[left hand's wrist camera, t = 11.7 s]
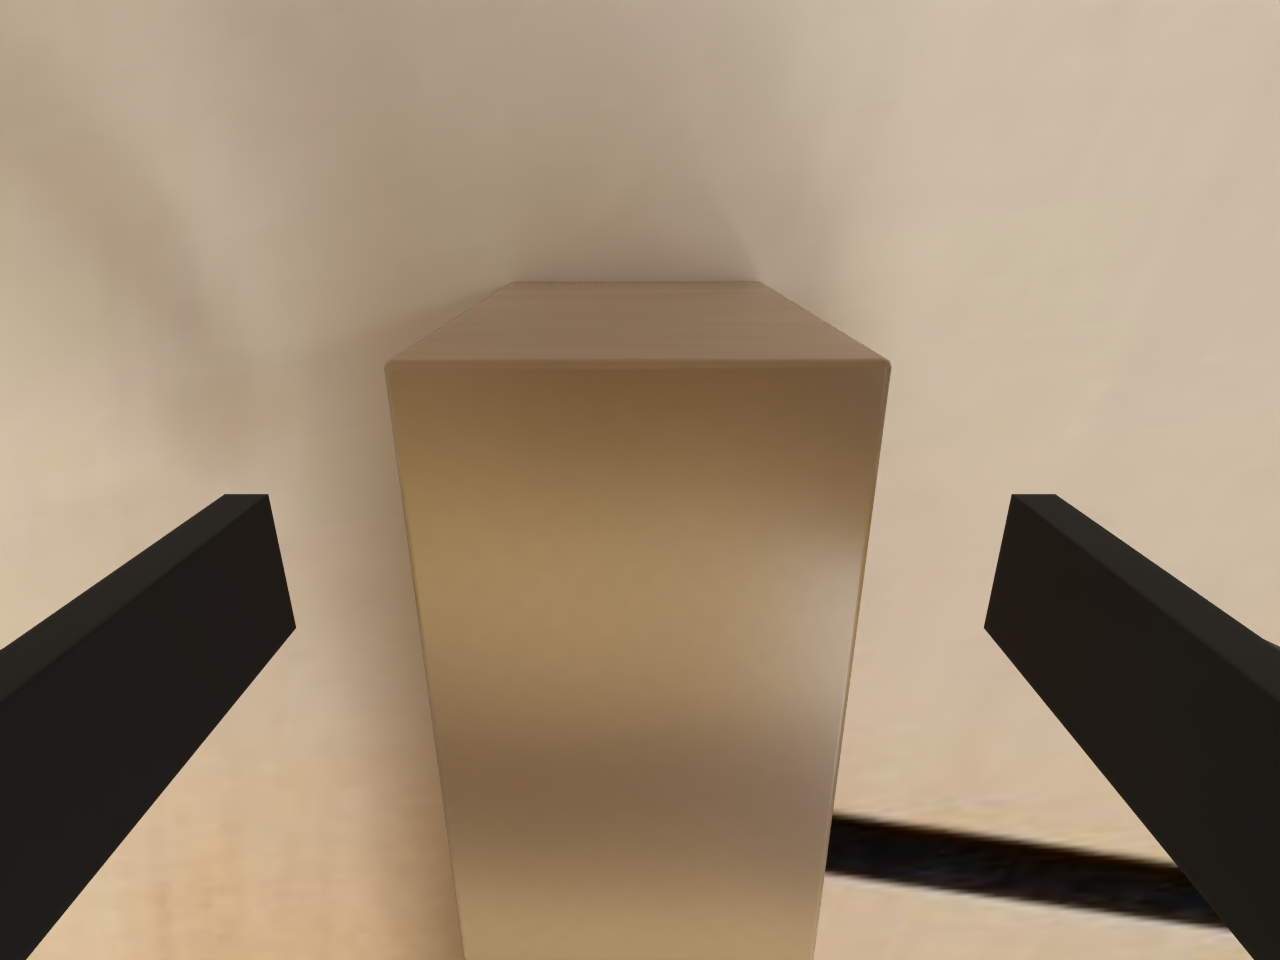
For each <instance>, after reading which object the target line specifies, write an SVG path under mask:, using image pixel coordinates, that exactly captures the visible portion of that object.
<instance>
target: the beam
mask: <svg viewBox="0 0 1280 960" xmlns="http://www.w3.org/2000/svg"><path fill="white" fill-rule="evenodd" d="M384 369H385V376H386V384H387V391H388V398H389V406H390V413H391V420H392V428H393V435H394V443H395V450H396V457H397V465H398V472H399V479H400V487H401V494H402V502H403V509H404V516H405V524H406V531H407V539H408V546H409V553H410V561H411V568H412V575H413V583H414V590H415V598H416V605H417V612H418V620H419V627H420V635H421V642H422V649H423V657H424V664H425V671H426V679H427V686H428V694H429V701H430V708H431V716H432V723H433V730H434V738H435V745H436V753H437V760H438V767H439V775H440V782H441V790H442V797H443V804H444V812H445V819H446V826H447V834H448V841H449V849H450V856H451V863H452V871H453V878H454V885H455V893H456V900H457V908H458V915H459V922H460V930H461V937H462V945H463V952H464V959H465V960H813V957H814V950H815V942H816V935H817V927H818V919H819V912H820V904H821V897H822V889H823V881H824V874H825V866H826V859H827V851H828V844H829V836H830V828H831V821H832V813H833V806H834V798H835V790H836V783H837V775H838V768H839V760H840V752H841V745H842V737H843V730H844V722H845V715H846V707H847V699H848V692H849V684H850V677H851V669H852V661H853V654H854V646H855V639H856V631H857V624H858V616H859V608H860V601H861V593H862V586H863V578H864V570H865V563H866V555H867V548H868V540H869V533H870V525H871V517H872V510H873V502H874V495H875V487H876V479H877V472H878V464H879V457H880V449H881V442H882V434H883V426H884V419H885V411H886V404H887V396H888V388H889V381H890V373H891V364H890V361H889V360H887V359H886V358H884V357H882V356H881V355H879V354H877V353H876V352H874V351H872V350H871V349H869V348H867V347H866V346H864V345H863V344H861V343H859V342H858V341H856V340H854V339H853V338H851V337H849V336H848V335H846V334H845V333H843V332H841V331H840V330H838V329H836V328H835V327H833V326H831V325H830V324H828V323H827V322H825V321H823V320H822V319H820V318H818V317H817V316H815V315H813V314H812V313H810V312H809V311H807V310H805V309H804V308H802V307H800V306H799V305H797V304H795V303H794V302H792V301H790V300H789V299H787V298H786V297H784V296H782V295H781V294H779V293H777V292H776V291H774V290H772V289H771V288H769V287H768V286H766V285H764V284H763V283H760V282H535V283H510V284H508V285H506V286H505V287H503V288H502V289H500V290H499V291H497V292H495V293H494V294H492V295H491V296H489V297H488V298H486V299H484V300H483V301H481V302H480V303H478V304H477V305H475V306H473V307H472V308H470V309H469V310H467V311H466V312H464V313H463V314H461V315H459V316H458V317H456V318H455V319H453V320H452V321H450V322H448V323H447V324H445V325H444V326H442V327H441V328H439V329H437V330H436V331H434V332H433V333H431V334H430V335H428V336H427V337H425V338H423V339H422V340H420V341H419V342H417V343H416V344H414V345H412V346H411V347H409V348H408V349H406V350H405V351H403V352H401V353H400V354H398V355H397V356H395V357H394V358H392V359H390V360H389V361H387V362H386V365H385V368H384Z"/></svg>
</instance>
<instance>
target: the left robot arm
mask: <svg viewBox="0 0 1280 960" xmlns="http://www.w3.org/2000/svg"><path fill="white" fill-rule="evenodd" d="M295 629H296V625H295V620H294V615H293V610H292V606H291V601H290V596H289V591H288V587H287V582H286V577H285V572H284V568H283V563H282V558H281V553H280V548H279V544H278V539H277V534H276V529H275V525H274V520H273V515H272V510H271V505H270V501H269V496H268V494H224V495H223V496H222V497H220V498H219V499H217V500H216V501H214V502H213V503H212V504H210V505H209V506H207V507H206V508H204V509H203V510H201V511H200V512H199V513H197V514H196V515H194V516H193V517H191V518H190V519H189V520H187V521H186V522H184V523H183V524H181V525H180V526H179V527H177V528H176V529H174V530H173V531H171V532H170V533H168V534H167V535H166V536H164V537H163V538H161V539H160V540H158V541H157V542H156V543H154V544H153V545H151V546H150V547H148V548H147V549H145V550H144V551H143V552H141V553H140V554H138V555H137V556H135V557H134V558H133V559H131V560H130V561H128V562H127V563H125V564H124V565H122V566H121V567H120V568H118V569H117V570H115V571H114V572H112V573H111V574H110V575H108V576H107V577H105V578H104V579H102V580H101V581H99V582H98V583H97V584H95V585H94V586H92V587H91V588H89V589H88V590H87V591H85V592H84V593H82V594H81V595H79V596H78V597H77V598H75V599H74V600H72V601H71V602H69V603H68V604H66V605H65V606H64V607H62V608H61V609H59V610H58V611H56V612H55V613H54V614H52V615H51V616H49V617H48V618H46V619H45V620H43V621H42V622H41V623H39V624H38V625H36V626H35V627H33V628H32V629H31V630H29V631H28V632H26V633H25V634H23V635H22V636H20V637H19V638H18V639H16V640H15V641H13V642H12V643H10V644H9V645H8V646H6V647H5V648H3V649H1V650H0V960H26V959H27V958H28V957H29V955H30V954H31V953H32V952H33V950H34V949H35V948H36V947H37V946H38V944H39V943H40V942H41V941H42V939H43V938H44V937H45V936H46V934H47V933H48V932H49V931H50V930H51V928H52V927H53V926H54V925H55V923H56V922H57V921H58V920H59V919H60V917H61V916H62V915H63V914H64V912H65V911H66V910H67V909H68V907H69V906H70V905H71V904H72V903H73V901H74V900H75V899H76V898H77V896H78V895H79V894H80V893H81V891H82V890H83V889H84V888H85V887H86V885H87V884H88V883H89V882H90V880H91V879H92V878H93V877H94V875H95V874H96V873H97V872H98V871H99V869H100V868H101V867H102V866H103V864H104V863H105V862H106V861H107V860H108V858H109V857H110V856H111V855H112V853H113V852H114V851H115V850H116V848H117V847H118V846H119V845H120V844H121V842H122V841H123V840H124V839H125V837H126V836H127V835H128V834H129V832H130V831H131V830H132V829H133V828H134V826H135V825H136V824H137V823H138V821H139V820H140V819H141V818H142V817H143V815H144V814H145V813H146V812H147V810H148V809H149V808H150V807H151V805H152V804H153V803H154V802H155V801H156V799H157V798H158V797H159V796H160V794H161V793H162V792H163V791H164V789H165V788H166V787H167V786H168V785H169V783H170V782H171V781H172V780H173V778H174V777H175V776H176V775H177V774H178V772H179V771H180V770H181V769H182V767H183V766H184V765H185V764H186V762H187V761H188V760H189V759H190V758H191V756H192V755H193V754H194V753H195V751H196V750H197V749H198V748H199V746H200V745H201V744H202V743H203V742H204V740H205V739H206V738H207V737H208V735H209V734H210V733H211V732H212V731H213V729H214V728H215V727H216V726H217V724H218V723H219V722H220V721H221V719H222V718H223V717H224V716H225V715H226V713H227V712H228V711H229V710H230V708H231V707H232V706H233V705H234V703H235V702H236V701H237V700H238V699H239V697H240V696H241V695H242V694H243V692H244V691H245V690H246V689H247V688H248V686H249V685H250V684H251V683H252V681H253V680H254V679H255V678H256V676H257V675H258V674H259V673H260V672H261V670H262V669H263V668H264V667H265V665H266V664H267V663H268V662H269V660H270V659H271V658H272V657H273V656H274V654H275V653H276V652H277V651H278V649H279V648H280V647H281V646H282V645H283V643H284V642H285V641H286V640H287V638H288V637H289V636H290V635H291V633H292V632H293V631H294V630H295ZM984 629H985V630H986V631H987V632H988V633H989V635H990V636H991V637H992V638H993V640H994V641H995V642H996V643H997V645H998V646H999V647H1000V648H1001V649H1002V651H1003V652H1004V653H1005V654H1006V656H1007V657H1008V658H1009V659H1010V660H1011V662H1012V663H1013V664H1014V665H1015V667H1016V668H1017V669H1018V670H1019V672H1020V673H1021V674H1022V675H1023V676H1024V678H1025V679H1026V680H1027V681H1028V683H1029V684H1030V685H1031V686H1032V688H1033V689H1034V690H1035V691H1036V692H1037V694H1038V695H1039V696H1040V697H1041V699H1042V700H1043V701H1044V702H1045V703H1046V705H1047V706H1048V707H1049V708H1050V710H1051V711H1052V712H1053V713H1054V715H1055V716H1056V717H1057V718H1058V719H1059V721H1060V722H1061V723H1062V724H1063V726H1064V727H1065V728H1066V729H1067V731H1068V732H1069V733H1070V734H1071V735H1072V737H1073V738H1074V739H1075V740H1076V742H1077V743H1078V744H1079V745H1080V746H1081V748H1082V749H1083V750H1084V751H1085V753H1086V754H1087V755H1088V756H1089V758H1090V759H1091V760H1092V761H1093V762H1094V764H1095V765H1096V766H1097V767H1098V769H1099V770H1100V771H1101V772H1102V774H1103V775H1104V776H1105V777H1106V778H1107V780H1108V781H1109V782H1110V783H1111V785H1112V786H1113V787H1114V788H1115V789H1116V791H1117V792H1118V793H1119V794H1120V796H1121V797H1122V798H1123V799H1124V801H1125V802H1126V803H1127V804H1128V805H1129V807H1130V808H1131V809H1132V810H1133V812H1134V813H1135V814H1136V815H1137V817H1138V818H1139V819H1140V820H1141V821H1142V823H1143V824H1144V825H1145V826H1146V828H1147V829H1148V830H1149V831H1150V832H1151V834H1152V835H1153V836H1154V837H1155V839H1156V840H1157V841H1158V842H1159V844H1160V845H1161V846H1162V847H1163V848H1164V850H1165V851H1166V852H1167V853H1168V855H1169V856H1170V857H1171V858H1172V860H1173V861H1174V862H1175V863H1176V864H1177V866H1178V867H1179V868H1180V869H1181V871H1182V872H1183V873H1184V874H1185V875H1186V877H1187V878H1188V879H1189V880H1190V882H1191V883H1192V884H1193V885H1194V887H1195V888H1196V889H1197V890H1198V891H1199V893H1200V894H1201V895H1202V896H1203V898H1204V899H1205V900H1206V901H1207V903H1208V904H1209V905H1210V906H1211V907H1212V909H1213V910H1214V911H1215V912H1216V914H1217V915H1218V916H1219V917H1220V919H1221V920H1222V921H1223V922H1224V923H1225V925H1226V926H1227V927H1228V928H1229V930H1230V931H1231V932H1232V933H1233V934H1234V936H1235V937H1236V938H1237V939H1238V941H1239V942H1240V943H1241V944H1242V946H1243V947H1244V948H1245V949H1246V950H1247V952H1248V953H1249V954H1250V955H1251V957H1252V958H1253V959H1254V960H1280V647H1279V646H1277V645H1275V644H1273V643H1271V642H1268V641H1266V640H1264V639H1262V638H1261V637H1260V636H1258V635H1257V634H1255V633H1254V632H1252V631H1251V630H1249V629H1248V628H1247V627H1245V626H1244V625H1242V624H1241V623H1239V622H1238V621H1237V620H1235V619H1234V618H1232V617H1231V616H1229V615H1228V614H1226V613H1225V612H1224V611H1222V610H1221V609H1219V608H1218V607H1216V606H1215V605H1214V604H1212V603H1211V602H1209V601H1208V600H1206V599H1205V598H1203V597H1202V596H1201V595H1199V594H1198V593H1196V592H1195V591H1193V590H1192V589H1191V588H1189V587H1188V586H1186V585H1185V584H1183V583H1182V582H1181V581H1179V580H1178V579H1176V578H1175V577H1173V576H1172V575H1170V574H1169V573H1168V572H1166V571H1165V570H1163V569H1162V568H1160V567H1159V566H1158V565H1156V564H1155V563H1153V562H1152V561H1150V560H1149V559H1147V558H1146V557H1145V556H1143V555H1142V554H1140V553H1139V552H1137V551H1136V550H1135V549H1133V548H1132V547H1130V546H1129V545H1127V544H1126V543H1124V542H1123V541H1122V540H1120V539H1119V538H1117V537H1116V536H1114V535H1113V534H1112V533H1110V532H1109V531H1107V530H1106V529H1104V528H1103V527H1101V526H1100V525H1099V524H1097V523H1096V522H1094V521H1093V520H1091V519H1090V518H1089V517H1087V516H1086V515H1084V514H1083V513H1081V512H1080V511H1079V510H1077V509H1076V508H1074V507H1073V506H1071V505H1070V504H1068V503H1067V502H1066V501H1064V500H1063V499H1061V498H1060V497H1058V496H1057V495H1056V494H1012V496H1011V501H1010V505H1009V510H1008V515H1007V520H1006V525H1005V529H1004V534H1003V539H1002V544H1001V548H1000V553H999V558H998V563H997V568H996V572H995V577H994V582H993V587H992V591H991V596H990V601H989V606H988V610H987V615H986V620H985V625H984Z"/></svg>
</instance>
